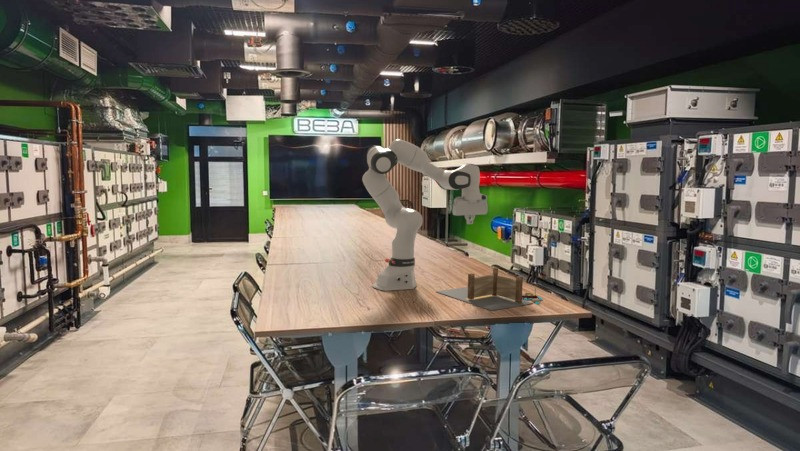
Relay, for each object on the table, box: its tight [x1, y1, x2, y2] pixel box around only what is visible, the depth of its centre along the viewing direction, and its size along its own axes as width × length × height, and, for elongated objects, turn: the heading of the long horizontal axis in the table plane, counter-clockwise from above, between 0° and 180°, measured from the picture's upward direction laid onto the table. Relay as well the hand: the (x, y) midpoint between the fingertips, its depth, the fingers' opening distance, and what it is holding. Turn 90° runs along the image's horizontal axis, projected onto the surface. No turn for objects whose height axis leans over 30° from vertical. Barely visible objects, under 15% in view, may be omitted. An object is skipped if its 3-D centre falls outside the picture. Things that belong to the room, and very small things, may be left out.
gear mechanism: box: [522, 288, 543, 305], centre depth 238 cm, size 20×5×9 cm
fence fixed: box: [492, 267, 524, 303], centre depth 235 cm, size 2×18×13 cm, turn 33°
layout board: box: [435, 286, 534, 312], centre depth 239 cm, size 24×39×1 cm, turn 32°
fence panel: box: [467, 272, 494, 299], centre depth 236 cm, size 2×15×11 cm, turn 128°
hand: (469, 224), depth 263 cm, fingers closed
